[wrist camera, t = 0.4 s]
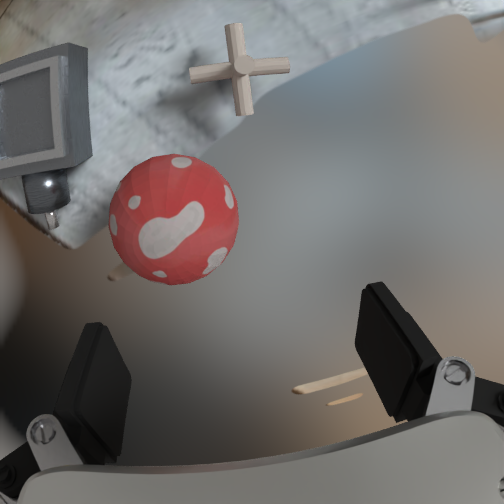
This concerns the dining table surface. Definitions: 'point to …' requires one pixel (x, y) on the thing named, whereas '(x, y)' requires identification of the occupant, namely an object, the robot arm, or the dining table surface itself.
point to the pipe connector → (239, 69)
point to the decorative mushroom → (173, 219)
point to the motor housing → (45, 124)
